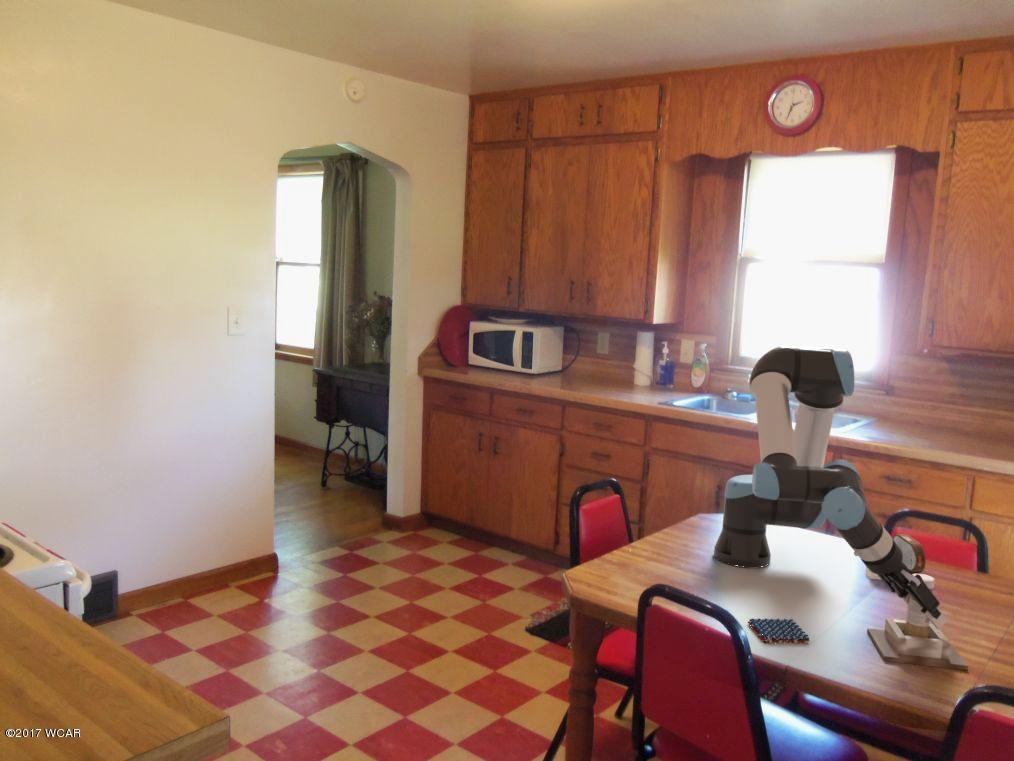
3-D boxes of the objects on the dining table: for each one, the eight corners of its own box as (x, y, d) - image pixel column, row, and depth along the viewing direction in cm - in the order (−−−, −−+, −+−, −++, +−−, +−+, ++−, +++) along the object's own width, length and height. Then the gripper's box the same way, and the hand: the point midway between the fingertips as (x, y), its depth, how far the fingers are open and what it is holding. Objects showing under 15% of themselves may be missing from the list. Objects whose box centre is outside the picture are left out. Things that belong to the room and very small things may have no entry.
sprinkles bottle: (914, 631, 178) (920, 571, 176) (932, 640, 174) (939, 579, 172) (899, 634, 176) (905, 574, 174) (918, 643, 172) (925, 581, 170)
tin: (925, 577, 221) (928, 546, 220) (913, 576, 221) (916, 546, 220) (899, 558, 236) (902, 529, 235) (888, 557, 236) (891, 529, 235)
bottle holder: (883, 660, 170) (886, 640, 169) (867, 632, 184) (869, 613, 183) (967, 670, 167) (970, 649, 167) (944, 641, 181) (946, 621, 180)
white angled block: (910, 572, 217) (896, 543, 216) (874, 588, 218) (860, 559, 218) (905, 567, 221) (891, 539, 220) (870, 583, 222) (855, 555, 221)
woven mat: (745, 625, 186) (746, 616, 186) (791, 626, 187) (792, 617, 187) (762, 646, 176) (762, 637, 176) (810, 646, 177) (811, 637, 176)
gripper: (835, 548, 177) (891, 615, 183) (895, 577, 160) (954, 650, 167) (858, 523, 178) (913, 591, 184) (920, 549, 161) (977, 623, 168)
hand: (932, 619), depth 176 cm, fingers closed on sprinkles bottle, 4 cm apart
